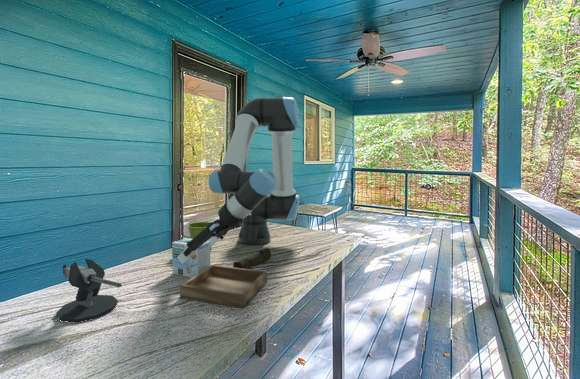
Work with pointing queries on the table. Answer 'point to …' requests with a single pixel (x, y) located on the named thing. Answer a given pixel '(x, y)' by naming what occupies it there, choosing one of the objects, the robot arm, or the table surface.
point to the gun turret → (87, 293)
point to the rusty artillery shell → (254, 259)
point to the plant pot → (197, 228)
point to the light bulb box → (195, 262)
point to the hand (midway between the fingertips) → (193, 254)
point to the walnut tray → (224, 286)
